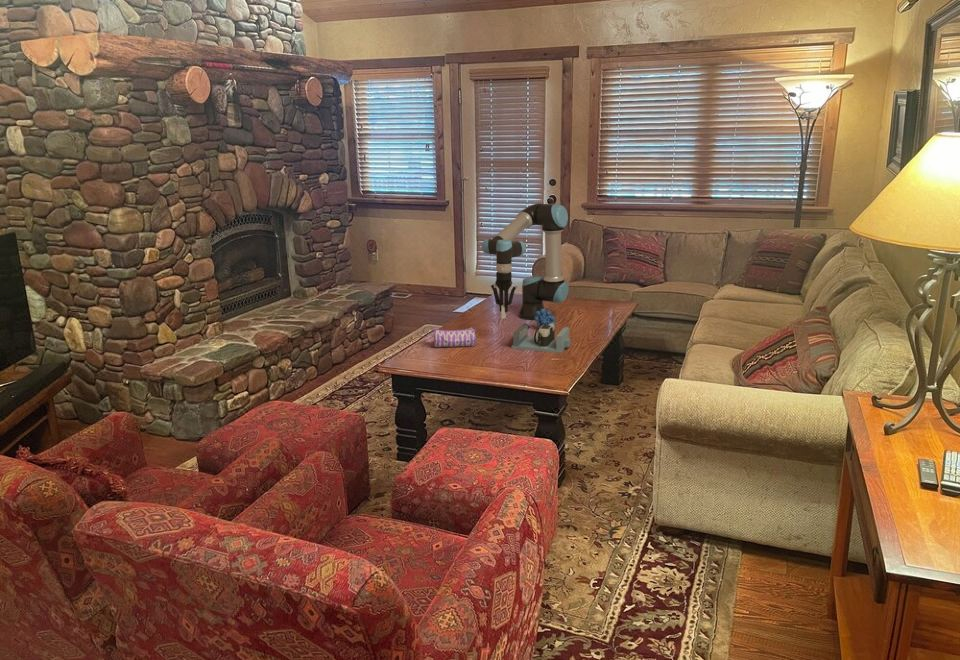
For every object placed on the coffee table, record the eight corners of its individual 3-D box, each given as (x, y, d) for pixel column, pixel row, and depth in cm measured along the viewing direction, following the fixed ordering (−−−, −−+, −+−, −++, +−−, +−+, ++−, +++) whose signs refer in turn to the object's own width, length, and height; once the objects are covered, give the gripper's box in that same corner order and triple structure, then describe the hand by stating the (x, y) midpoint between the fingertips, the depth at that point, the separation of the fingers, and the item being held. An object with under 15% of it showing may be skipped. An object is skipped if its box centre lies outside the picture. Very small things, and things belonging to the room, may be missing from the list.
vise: (521, 339, 361) (521, 323, 358) (572, 344, 352) (573, 327, 349) (511, 348, 346) (511, 331, 344) (565, 353, 337) (565, 336, 335)
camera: (540, 337, 358) (540, 318, 355) (556, 339, 355) (557, 320, 352) (530, 346, 344) (531, 326, 341) (548, 348, 341) (548, 328, 338)
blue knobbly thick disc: (531, 331, 374) (532, 309, 370) (535, 328, 380) (535, 306, 376) (553, 333, 370) (553, 311, 366) (556, 330, 376) (557, 308, 372)
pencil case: (475, 342, 357) (475, 324, 355) (478, 347, 349) (478, 329, 346) (432, 344, 354) (431, 326, 352) (434, 350, 345) (433, 331, 343)
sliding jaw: (526, 333, 365) (526, 320, 364) (531, 333, 364) (531, 320, 363) (513, 345, 346) (513, 332, 344) (519, 345, 345) (519, 332, 343)
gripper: (488, 272, 344) (488, 318, 351) (514, 273, 340) (513, 321, 346) (493, 269, 351) (493, 315, 357) (518, 271, 347) (518, 317, 353)
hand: (503, 318), depth 352 cm, fingers closed
